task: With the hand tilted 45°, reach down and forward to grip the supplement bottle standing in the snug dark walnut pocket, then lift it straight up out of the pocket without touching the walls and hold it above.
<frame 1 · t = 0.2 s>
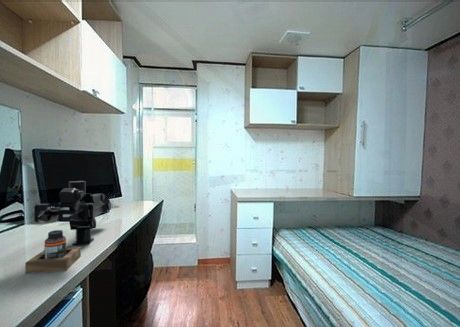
hand: (53, 218, 76), 17 cm above the table, tool horizontal, fingers open, 9 cm apart
walnut pocket block: (55, 264, 79), on the table
supplement bottle: (55, 265, 79), resting in walnut pocket block
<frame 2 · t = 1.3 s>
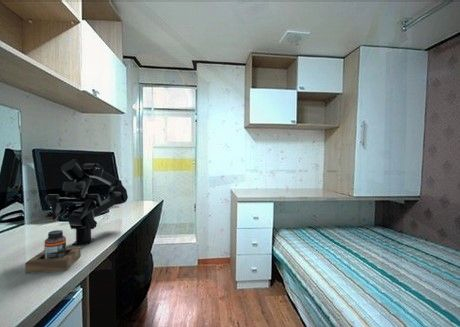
hand: (66, 219, 87), 14 cm above the table, tool tilted 45°, fingers open, 9 cm apart
nothing on the table moved.
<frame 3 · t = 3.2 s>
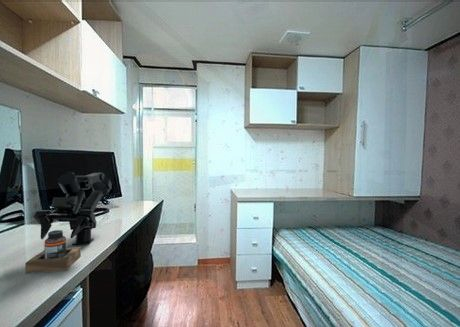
hand: (56, 238, 80), 9 cm above the table, tool tilted 45°, fingers open, 9 cm apart
nothing on the table moved.
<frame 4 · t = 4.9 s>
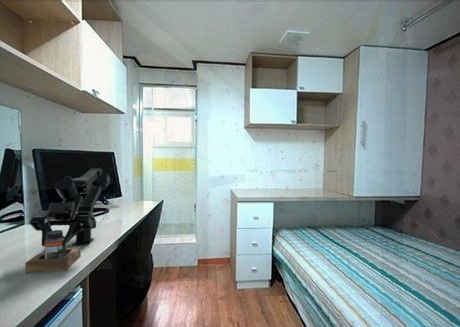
hand: (53, 245, 78), 7 cm above the table, tool tilted 45°, fingers closed on supplement bottle, 6 cm apart
supplement bottle: (55, 264, 79), resting in walnut pocket block, touching gripper
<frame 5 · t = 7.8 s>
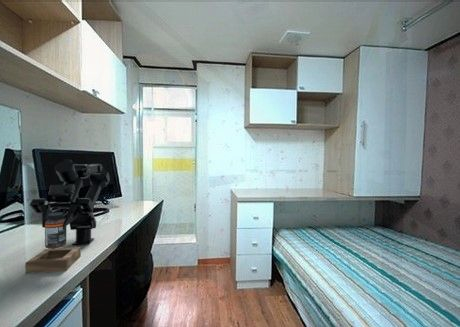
hand: (53, 226, 78), 13 cm above the table, tool tilted 45°, fingers closed on supplement bottle, 6 cm apart
supplement bottle: (55, 246, 79), point 6 cm above the table, touching gripper
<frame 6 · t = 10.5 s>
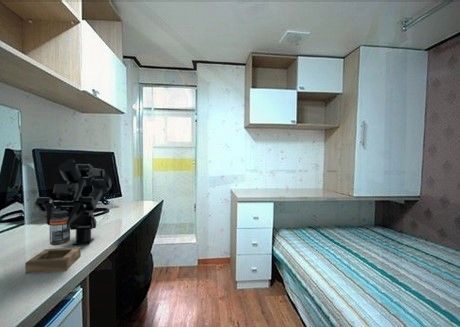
hand: (58, 224, 81), 13 cm above the table, tool tilted 45°, fingers closed on supplement bottle, 6 cm apart
supplement bottle: (60, 243, 82), point 6 cm above the table, touching gripper
at the end: the gripper is holding supplement bottle; supplement bottle point 6.0 cm above the table; supplement bottle touching gripper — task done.
